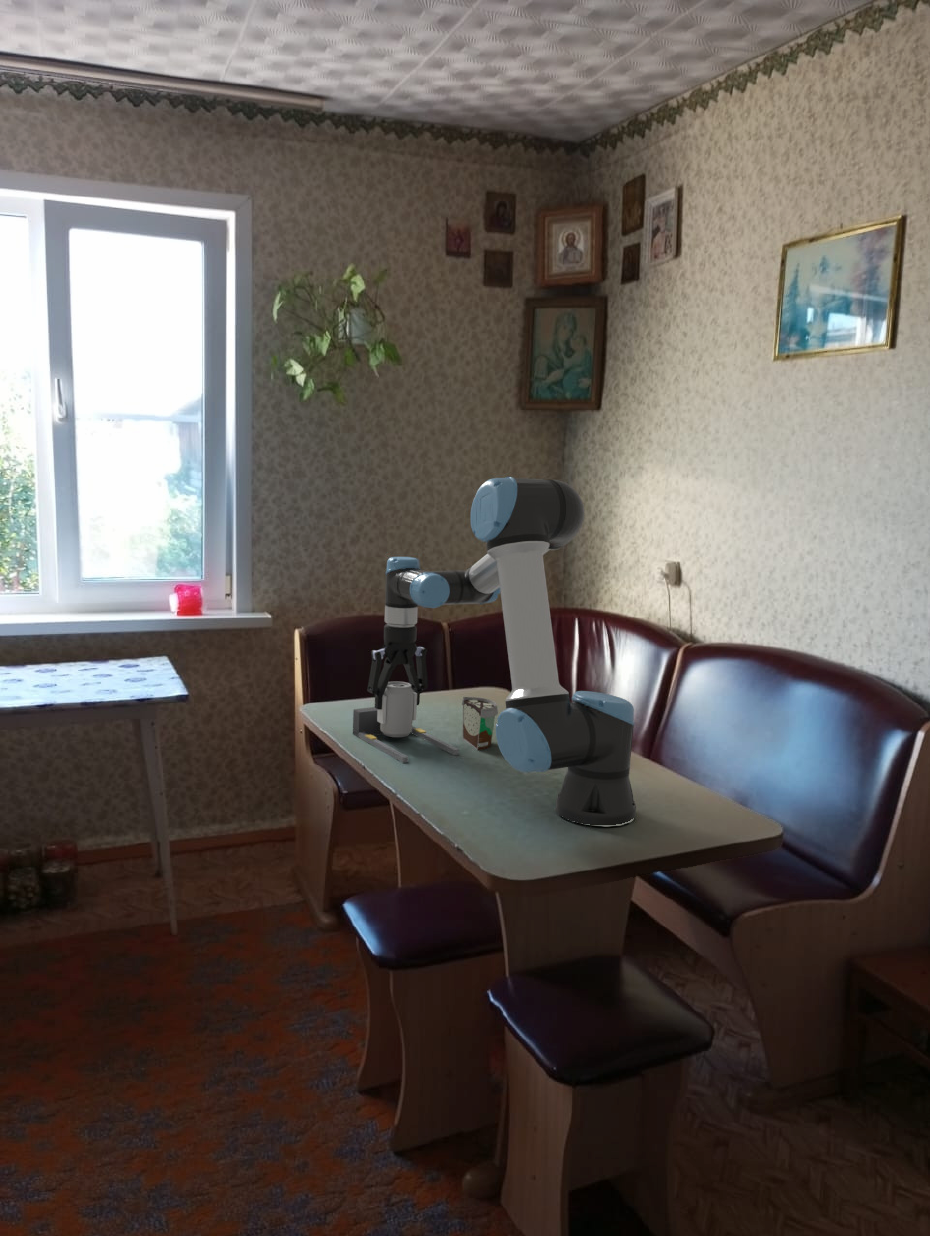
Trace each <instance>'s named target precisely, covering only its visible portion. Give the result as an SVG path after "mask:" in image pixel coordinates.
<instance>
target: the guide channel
mask: <svg viewBox="0 0 930 1236" xmlns="http://www.w3.org/2000/svg"><path fill="white" fill-rule="evenodd" d="M377 711H378V709H376V708H375V706H372V707H364V708H363V707H362V708H354V709H353V712H352V713H353V714H352V715H353V717H352V735H354V736H356V737H358V738H359V739H361V740H362V741H365V742H366V743H368V744H370V745H371V746H373V747H375V748H377V749H378V750H380V751H382V752H383V753H385V754H387V755H389V756H390V757H393V758H394V759H396V760H397V759H398V761H399V762H401V763H403V764H405V763H408V762H409V756H407V755H406V754H404V753H402V752H400V751H398V750H397V749H395V748H393V747H391V746H390V745H388V744H387V743H384V742H383V741H381V740H379V739H378V737H377V736H379V735H378V734H380V735H384V734H383V732H382V731H381V730H380V725H381V723H379V722H378V721H377ZM412 733H413V734H412ZM410 734H412V735H414V734H415V735H414V736H416V735H417V737H418V736H419V737H418V738H420V737H421V738H420V739H422V740H424V739H425V740H424V741H426V742H427V743H430V744H431V745H433V746H436V747H438V748H439V749H441V750H442V751H445V752H447V753H449V754H451V755H453V756H459V754H460V749H459V748H457V747H455V746H453V745H451V744H449V743H447V742H446V741H443V740H441V739H439V738H438V737H436V736H434V735H431V734H429V733H427V731H426V730H424V729H422V728H420V727H418V728H417V727H415V726H414V725H412V732H411V733H410Z"/></svg>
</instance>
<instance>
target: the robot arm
mask: <svg viewBox="0 0 930 1236" xmlns="http://www.w3.org/2000/svg"><path fill="white" fill-rule="evenodd" d="M584 520H585V506H584V503H583V500H582V498H581V496H580V495H579V492H577V490H576V489H575V488H574V487H572V485H570V484H568V483H566V482H564V481H561V480H559V479H551V478H550V479H549V478H548V479H545V478H544V479H542V478H541V479H540V478H527V477H523V478H522V477H513V476H506V477H494V478H490V479H487V480H486V481H485V482H483V483H482V484H481V485H480V487H479V488H478V489H477V491H476V494H475V496H474V497H473V501H472V504H471V508H470V527H471V531H472V533H473V534H474V536H475V538H476V539H477V540H479V541H481V542H483V543H485V542H486V543H485V544H486V552H487V554H485V555H484V556H482V557H481V558H480V559H479V560H477V562H475V563H474V564H472V566H470V567H469V568H468V569H464V570H429V571H428V570H421V567H420V560H419V559H418V557H417V558H416V557H411V556H391V557H389V558H388V560H387V561H386V571H385V593H384V594H385V599H384V602H385V603H384V623H385V625H384V626H383V642H384V643H383V646H382V648H380V649H378V650H375V649H373V650H371V652H370V655H371V665H370V671H369V677H368V683H367V689H366V690H367V692H368V693H370V694H372V695H374V707H375V708H376V709H378V711H377V721H378V722H379V723H381V724H386V700H387V696H385V695H384V692H385V690H386V687H387V684H388V682H390V679H391V676H392V674H393V671H394V670H395V669H396V667H397V666H398V665H403V666H404V669H405V672H406V675H407V678H408V679H407V680H408V683H410V684H411V688H412V689H413V691H414V699H413V721H417V709H418V708H417V707H418V706H420V703H421V702H420V701H421V700H420V699H421V694H422V693H423V692H424V690H427V689H429V688H428V687H429V683H428V682H429V681H428V671H427V659H426V658H427V653H428V649H427V648H425V647H423V646H417V644H416V641H417V630H418V629H417V627H418V626H416V625H417V623H418V607H419V606H420V607H422V608H425V609H426V608H430V609H436V608H440V607H441V606H445V605H446V606H447V605H448V606H449V605H483V604H489V603H493V602H495V601H496V600H497V599H498V597H499V595H500V598H501V609H502V614H503V615H502V617H503V623H504V631H505V641H506V647H507V648H506V649H507V655H508V657H507V658H508V665H509V671H510V672H509V673H510V680H511V692H510V693H509V694H508V695H507V696H506V698H505V709H504V710H502V711H501V712H500V713H499V715H498V716H497V718H496V719H497V720H496V721H497V723H496V724H495V737H496V742H497V745H498V748H499V751H500V753H501V754H502V757H503V758H504V760H505V761H506V762H507V763H508V765H510V766H511V767H512V768H513V769H514V770H516V771H517V772H520V773H535V772H536V773H544V772H547V771H550V770H551V771H552V770H558V769H563V768H567V771H566V775H565V777H564V780H563V782H562V786H561V789H560V792H558V793H557V796H556V799H555V812H556V814H557V813H558V814H559V815H558V814H557V815H558V816H560V815H561V816H563V817H564V818H566V819H569V820H571V821H575V822H578V823H583V824H590V825H616V824H622V823H625V822H628V821H630V820H631V819H633V818H634V816H635V817H636V812H637V811H636V810H637V807H636V806H637V804H636V802H635V799H634V794H633V793H634V792H633V789H632V784H631V781H630V769H631V757H632V747H633V746H632V745H633V735H634V727H635V722H634V719H635V718H634V716H635V714H634V713H635V708H634V705H633V704H632V703H631V702H630V701H629V700H627V699H625V698H624V697H623V698H622V697H619V696H616V695H613V694H607V693H603V692H597V691H590V690H589V691H588V690H578V691H575V692H574V693H573V695H572V696H571V700H572V702H571V701H570V694H569V691H568V690H567V689H565V688H564V687H563V686H562V685H561V684H560V681H559V673H558V672H559V671H558V666H557V656H556V651H555V650H556V649H555V642H554V634H553V626H552V619H551V612H550V611H551V610H550V601H549V595H548V594H549V593H548V587H547V579H546V572H545V563H544V555H545V554H547V553H548V552H550V551H557V550H560V549H561V548H563V547H565V545H567V544H569V543H570V542H571V541H572V540H573V539H574V538H575V537H576V536H577V535H578V533H579V532H580V531H581V529H582V527H583V524H584ZM414 655H415V661H416V663H414V659H413V657H414ZM384 657H385V660H384V662H383V663H382V661H383V659H384ZM382 664H383V667H382ZM415 664H416V668H415ZM381 669H382V670H381ZM561 816H560V817H561ZM564 818H563V819H564ZM566 819H565V820H566ZM571 821H570V822H571Z"/></svg>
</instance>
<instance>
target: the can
mask: <svg viewBox="0 0 930 1236" xmlns="http://www.w3.org/2000/svg"><path fill="white" fill-rule="evenodd" d="M384 695H385V696H387V700H386V724H381V725H380V730H381V731H382V732H383V734H382V735H384V736H387V737H391V738H403V737H408V736H409V735H410V734H411V733H410V732H412V726H413V721H414V720H413V699H414V691H413V689H412V688H411V684H410V682H405V681H397V680H396V681H389V682H388V684H387V687H386V690H385V692H384Z"/></svg>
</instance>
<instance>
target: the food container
mask: <svg viewBox="0 0 930 1236" xmlns="http://www.w3.org/2000/svg"><path fill="white" fill-rule="evenodd" d="M462 698H463V699H462V701H461V702H462V703H461V705H462V740H463V741H465V742H467V744H468V745H470V746H471V747H473V748H474V749H475V750H476V751H481V750H483V751H484V750H487V749H489V748H491V746H492V741H493V740H492V739H493V732H494V725H495V719H496V718H495V716H497V715H498V713H499V711H498V706H497V703H496V702H495V701H494V700H491V699H488V698H484V697H479V696H478V697H476V696H463V697H462Z"/></svg>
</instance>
